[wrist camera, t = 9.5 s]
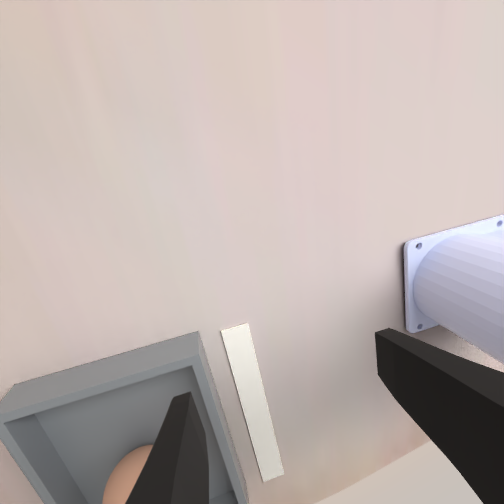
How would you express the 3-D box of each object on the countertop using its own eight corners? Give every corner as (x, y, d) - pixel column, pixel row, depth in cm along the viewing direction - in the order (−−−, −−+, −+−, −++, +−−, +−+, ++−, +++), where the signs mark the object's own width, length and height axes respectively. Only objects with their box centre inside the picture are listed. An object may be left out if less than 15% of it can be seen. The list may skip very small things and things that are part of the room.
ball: (175, 418, 20) (171, 493, 16) (190, 465, 22) (191, 546, 17) (103, 440, 20) (77, 526, 15) (124, 488, 21) (107, 578, 17)
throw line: (247, 322, 20) (248, 323, 20) (284, 472, 25) (284, 474, 25) (220, 330, 20) (221, 331, 20) (262, 480, 25) (263, 481, 25)
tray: (198, 331, 19) (199, 354, 17) (245, 483, 25) (251, 517, 22) (14, 384, 18) (-14, 418, 15) (105, 535, 23) (95, 578, 21)
